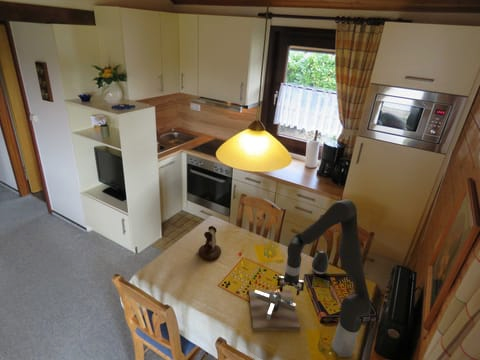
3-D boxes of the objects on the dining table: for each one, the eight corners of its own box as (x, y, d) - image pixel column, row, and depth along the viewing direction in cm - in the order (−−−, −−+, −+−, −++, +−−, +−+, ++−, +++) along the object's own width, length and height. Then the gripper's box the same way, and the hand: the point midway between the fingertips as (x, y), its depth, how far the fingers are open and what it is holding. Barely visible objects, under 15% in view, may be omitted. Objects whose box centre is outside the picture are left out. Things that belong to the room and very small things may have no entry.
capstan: (288, 331, 150) (291, 320, 147) (247, 316, 157) (248, 305, 153) (297, 299, 169) (300, 288, 165) (260, 286, 176) (261, 276, 172)
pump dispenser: (314, 262, 200) (318, 244, 193) (329, 270, 194) (334, 251, 188) (307, 270, 193) (311, 252, 186) (322, 279, 187) (327, 260, 180)
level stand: (300, 330, 154) (300, 327, 153) (252, 330, 152) (253, 327, 151) (290, 292, 176) (290, 290, 175) (248, 292, 174) (249, 290, 173)
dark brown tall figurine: (216, 263, 193) (217, 238, 184) (194, 257, 197) (194, 232, 188) (224, 249, 206) (225, 225, 197) (204, 244, 209) (204, 220, 200)
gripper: (306, 268, 163) (302, 290, 170) (280, 262, 165) (277, 285, 173) (306, 278, 156) (301, 301, 163) (278, 272, 159) (275, 295, 166)
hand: (289, 292), depth 168 cm, fingers open, 8 cm apart
